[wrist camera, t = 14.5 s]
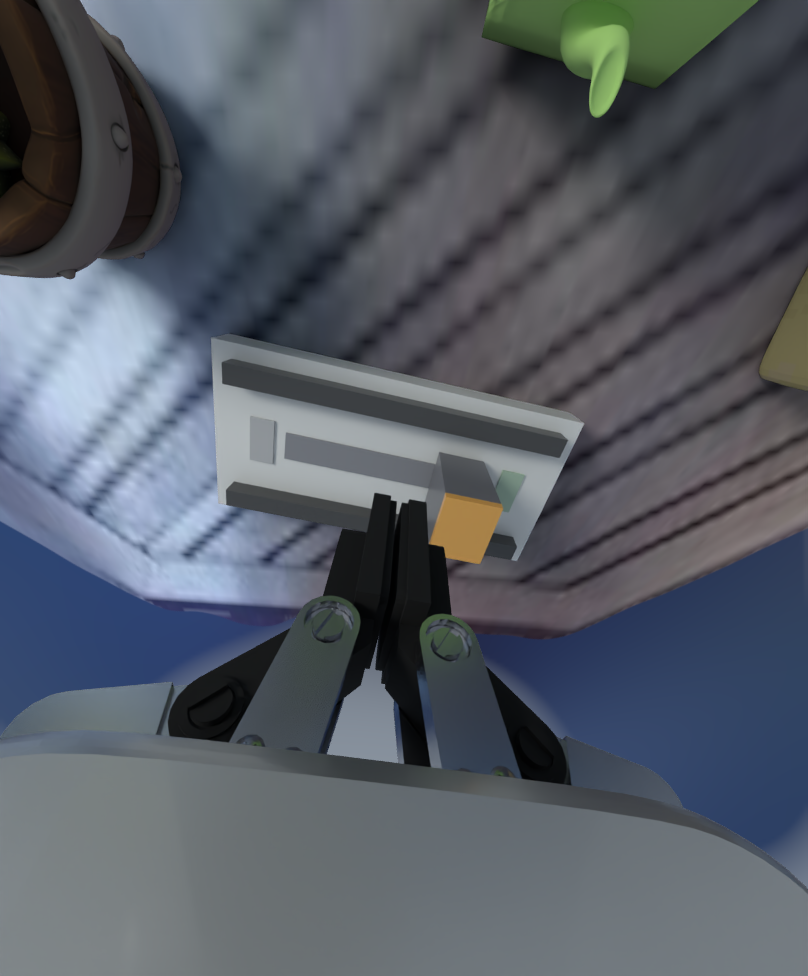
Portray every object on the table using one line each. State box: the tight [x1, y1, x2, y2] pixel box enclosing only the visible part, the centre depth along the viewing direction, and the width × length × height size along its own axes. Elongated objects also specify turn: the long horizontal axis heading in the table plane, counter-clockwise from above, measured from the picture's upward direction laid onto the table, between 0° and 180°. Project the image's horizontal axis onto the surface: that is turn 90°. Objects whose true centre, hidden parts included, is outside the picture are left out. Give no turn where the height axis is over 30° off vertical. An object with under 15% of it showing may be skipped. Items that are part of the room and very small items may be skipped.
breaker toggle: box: [425, 452, 503, 564], centre depth 28 cm, size 5×4×8 cm
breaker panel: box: [211, 334, 584, 561], centre depth 32 cm, size 15×30×5 cm, turn 78°
